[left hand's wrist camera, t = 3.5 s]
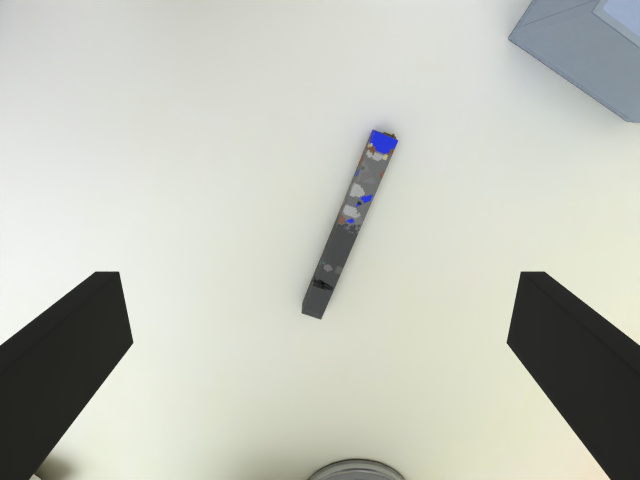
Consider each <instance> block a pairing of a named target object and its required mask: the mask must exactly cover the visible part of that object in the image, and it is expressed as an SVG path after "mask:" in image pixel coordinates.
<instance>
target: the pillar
mask: <svg viewBox="0 0 640 480" xmlns="http://www.w3.org/2000/svg"><path fill="white" fill-rule="evenodd" d="M394 135H395V134H393V135H390V134H388V133H385V132H384V134H383V133H380V132H377V131H375V130H372V133H371V135H370V138H369V140H368V143H367V145H366V148H365V150H364V152H363V155H362V157H361V160H360V162H359V165H358V167H357V170H356V172H355V175H354V177H353V180H352V182H351V185H350V187H349V189H348V192H347V194H346V197H345V199H344V202H343V204H342V207H341V209H340V212H339V214H338V217H337V219H336V222H335V224H334V226H333V229H332V231H331V234H330V236H329V239H328V241H327V244H326V246H325V249H324V251H323V254H322V256H321V259H320V261H319V263H318V266H317V268H316V271H315V273H314V276H313V278H312V281H311V283H310V286H309V288H308V291H307V293H306V296H305V298H304V300H303V303H302V313H303V314H306V315H309V316H312V317H315V318H318V319H321V318H322V316H323V314H324V311H325V309H326V307H327V304H328V302H329V300H330V297H331V295H332V293H333V290H334V288H335V286H336V283H337V281H338V279H339V277H340V274H341V272H342V270H343V267H344V265H345V263H346V260H347V258H348V256H349V253H350V251H351V249H352V246H353V244H354V242H355V239H356V237H357V235H358V233H359V230H360V228H361V226H362V223H363V221H364V219H365V216H366V214H367V212H368V209H369V207H370V205H371V202H372V200H373V198H374V195H375V193H376V191H377V189H378V186H379V184H380V182H381V179H382V177H383V175H384V172H385V170H386V168H387V165H388V163H389V161H390V158H391V156H392V154H393V151H394V149H395V147H396V144H397V142H398V140H396V137H395V136H394Z"/></svg>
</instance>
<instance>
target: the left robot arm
mask: <svg viewBox="0 0 640 480" xmlns="http://www.w3.org/2000/svg"><path fill="white" fill-rule="evenodd" d="M132 344H133V339H132V334H131V329H130V324H129V319H128V314H127V309H126V304H125V299H124V294H123V289H122V284H121V279H120V274H119V272H94V273H93V274H92V275H91V276H89V277H88V278H87V279H85V280H84V281H83V282H82V283H80V284H79V285H78V286H76V287H75V288H74V289H73V290H71V291H70V292H69V293H67V294H66V295H65V296H64V297H62V298H61V299H60V300H58V301H57V302H56V303H55V304H53V305H52V306H51V307H49V308H48V309H47V310H46V311H44V312H43V313H42V314H40V315H39V316H38V317H36V318H35V319H34V320H33V321H31V322H30V323H29V324H27V325H26V326H25V327H24V328H22V329H21V330H20V331H18V332H17V333H16V334H15V335H13V336H12V337H11V338H9V339H8V340H7V341H6V342H4V343H3V344H2V345H0V480H29V479H30V478H31V477H32V475H33V474H34V473H35V472H36V470H37V469H38V468H39V466H40V465H41V464H42V462H43V461H44V460H45V458H46V457H47V456H48V454H49V453H50V452H51V451H52V449H53V448H54V447H55V445H56V444H57V443H58V441H59V440H60V439H61V437H62V436H63V435H64V433H65V432H66V431H67V429H68V428H69V427H70V426H71V424H72V423H73V422H74V420H75V419H76V418H77V416H78V415H79V414H80V412H81V411H82V410H83V408H84V407H85V406H86V404H87V403H88V402H89V401H90V399H91V398H92V397H93V395H94V394H95V393H96V391H97V390H98V389H99V387H100V386H101V385H102V383H103V382H104V381H105V380H106V378H107V377H108V376H109V374H110V373H111V372H112V370H113V369H114V368H115V366H116V365H117V364H118V362H119V361H120V360H121V358H122V357H123V356H124V355H125V353H126V352H127V351H128V349H129V348H130V347H131V345H132ZM507 344H508V345H509V347H510V348H511V349H512V351H513V352H514V353H515V355H516V356H517V357H518V358H519V360H520V361H521V362H522V364H523V365H524V366H525V368H526V369H527V370H528V372H529V373H530V374H531V376H532V377H533V378H534V380H535V381H536V382H537V383H538V385H539V386H540V387H541V389H542V390H543V391H544V393H545V394H546V395H547V397H548V398H549V399H550V401H551V402H552V403H553V405H554V406H555V407H556V408H557V410H558V411H559V412H560V414H561V415H562V416H563V418H564V419H565V420H566V422H567V423H568V424H569V426H570V427H571V428H572V429H573V431H574V432H575V433H576V435H577V436H578V437H579V439H580V440H581V441H582V443H583V444H584V445H585V447H586V448H587V449H588V451H589V452H590V453H591V454H592V456H593V457H594V458H595V460H596V461H597V462H598V464H599V465H600V466H601V468H602V469H603V470H604V472H605V473H606V474H607V475H608V477H609V478H610V479H611V480H640V345H638V344H637V343H636V342H634V341H633V340H632V339H631V338H629V337H628V336H627V335H625V334H624V333H623V332H622V331H620V330H619V329H618V328H616V327H615V326H614V325H613V324H611V323H610V322H609V321H607V320H606V319H605V318H604V317H602V316H601V315H600V314H598V313H597V312H596V311H594V310H593V309H592V308H591V307H589V306H588V305H587V304H585V303H584V302H583V301H582V300H580V299H579V298H578V297H576V296H575V295H574V294H573V293H571V292H570V291H569V290H567V289H566V288H565V287H564V286H562V285H561V284H560V283H558V282H557V281H556V280H555V279H553V278H552V277H551V276H549V275H548V274H547V273H546V272H521V274H520V279H519V284H518V289H517V294H516V299H515V304H514V309H513V314H512V319H511V324H510V329H509V334H508V339H507ZM309 480H404V479H403V478H402V476H401V475H400V474H398V473H397V472H396V471H394V470H393V469H391V468H389V467H387V466H385V465H383V464H380V463H377V462H372V461H366V460H349V461H342V462H338V463H334V464H331V465H329V466H326V467H324V468H323V469H321V470H319V471H318V472H316V473H315V474H314V475H313V476H311V477H310V478H309Z"/></svg>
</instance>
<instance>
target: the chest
mask: <svg viewBox="0 0 640 480" xmlns="http://www.w3.org/2000/svg"><path fill="white" fill-rule="evenodd" d="M599 2H600V0H533V1H532V3H531V4H530V6H529V7H528V9H527V10H526V12H525V13H524V15H523V16H522V18H521V20H520V21H519V23H518V24H517V26H516V27H515V29H514V30H513V32H512V33H511V35H510V36H509V38H508V39H509V40H510V41H512V42H513V43H515V44H516V45H518V46H519V47H520V48H522V49H523V50H525V51H526V52H528V53H529V54H531V55H532V56H533V57H535V58H536V59H538V60H539V61H541V62H542V63H543V64H545V65H546V66H548V67H549V68H551V69H552V70H554V71H555V72H556V73H558V74H559V75H561V76H562V77H564V78H565V79H567V80H568V81H569V82H571V83H572V84H574V85H575V86H577V87H578V88H580V89H581V90H582V91H584V92H585V93H587V94H588V95H590V96H591V97H593V98H594V99H595V100H597V101H598V102H600V103H601V104H603V105H604V106H606V107H607V108H608V109H610V110H611V111H613V112H614V113H616V114H617V115H618V116H620V117H621V118H623V119H624V120H626V121H627V122H636V123H640V47H638V46H637V45H636V44H634V43H633V42H632V41H630V40H629V39H628V38H626V37H625V36H624V35H622V34H621V33H620V32H618V31H617V30H616V29H614V28H613V27H612V26H610V25H609V24H608V23H606V22H605V21H603V20H602V19H601V18H599V17H598V16H597V15H595V14H594V13H593V10H594V9H595V7H596V6H597V4H598V3H599Z"/></svg>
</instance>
